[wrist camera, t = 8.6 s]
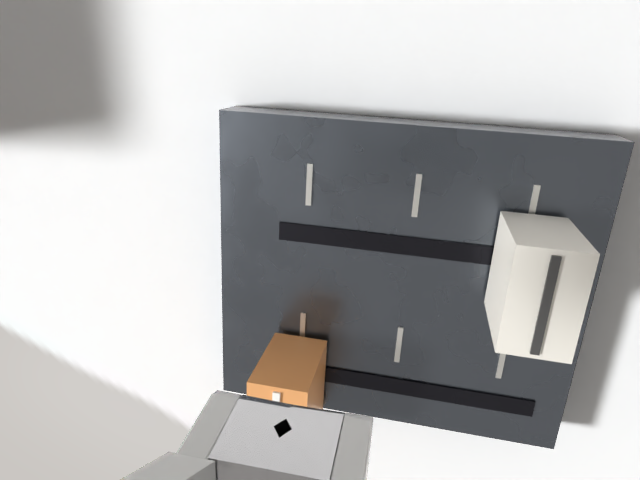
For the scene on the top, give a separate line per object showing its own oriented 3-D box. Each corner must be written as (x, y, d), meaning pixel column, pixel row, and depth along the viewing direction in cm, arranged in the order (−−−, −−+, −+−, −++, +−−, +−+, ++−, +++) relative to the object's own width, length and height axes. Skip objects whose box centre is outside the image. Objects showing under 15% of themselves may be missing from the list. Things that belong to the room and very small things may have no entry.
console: (236, 106, 23) (218, 110, 21) (615, 134, 20) (635, 142, 18) (237, 368, 28) (222, 391, 26) (544, 420, 25) (554, 450, 23)
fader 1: (275, 332, 24) (245, 383, 20) (327, 340, 23) (307, 394, 20) (273, 402, 25) (245, 462, 21) (322, 411, 25) (302, 474, 21)
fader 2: (500, 210, 20) (516, 245, 16) (568, 217, 19) (601, 255, 16) (484, 302, 21) (495, 354, 18) (546, 310, 21) (572, 365, 17)
